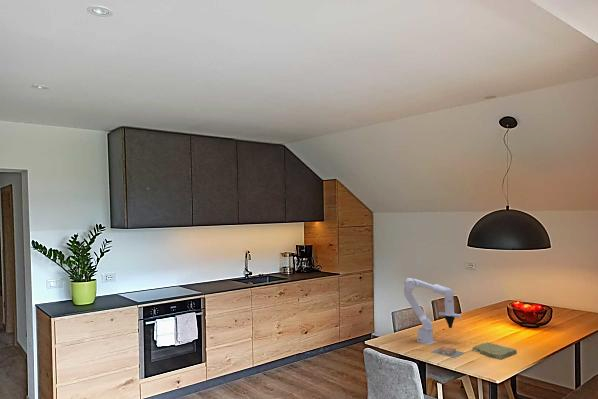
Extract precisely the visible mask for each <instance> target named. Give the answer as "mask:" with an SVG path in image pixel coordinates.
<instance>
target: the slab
mask: <svg viewBox="0 0 598 399" xmlns="http://www.w3.org/2000/svg"><path fill="white" fill-rule="evenodd" d="M437 349H438V348H437ZM456 351H457V349H456V348H453V347H449V346H444V345H443V346H441V348H440V347H439V349H438V353H441V354H445V355H449V356H451V355H453V354H455V353H456Z"/></svg>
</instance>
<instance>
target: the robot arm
mask: <svg viewBox="0 0 598 399" xmlns="http://www.w3.org/2000/svg"><path fill="white" fill-rule="evenodd" d="M419 287H422V288H425V289H428V290H431V291H432V292H433V293H434V294H438V295H440V296H444V311H439V312H438V316H443V317H444V319H445V321H446V323H447V325H448V329H451V328H453V324H454V321H455V319H456V318H459V319H461V318H462V314H460V313H457V312H456V313H455V304H454V303H455V301H454V296H455V293H454V291H453V289H451V288H450V287H447V286H443V285H440V283H435V284H431V283H429V282H426V281H423V280H420V279H417V278H412V277H407V278H405V280H404V283H403V295H404V297H405V299H406V300H407V301H408V303H409V305H410V306H411V308H412V310H413V311H414V313H415V314H416V316H417V318H419V321H420V322H421V324H422V325H421V326H422V327H419V328H418V330H417V341H416V342H417V343H420V344H425V345H433V344H434V343H436V340H435V341H434V333H433V332H434V328H433V323H432V320H431V319H430V318H429V317H428V316H427V314H425V312H424V311H423V309H422V308H421V306H420V305H419V303H418V302H417V300H416V298H415V297H414V296H413V294H412V293H413V290H414V289H415V288H419Z"/></svg>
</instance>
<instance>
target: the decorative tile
mask: <svg viewBox="0 0 598 399" xmlns="http://www.w3.org/2000/svg"><path fill="white" fill-rule="evenodd" d="M471 352H475V353H479V355H483V356H485V357H489V358H492V359H496V360H500V361H502V360H505V359H507V358H510V357H511V356H515V355H517V353H518V350H517V349H516V348H511V347H507V346H503V345H499V344H495V343H491V342H488V341H487V342H481V343H480V344H476V345H474V346H473V347H472V349H471Z"/></svg>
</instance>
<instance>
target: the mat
mask: <svg viewBox="0 0 598 399" xmlns="http://www.w3.org/2000/svg"><path fill="white" fill-rule="evenodd" d="M441 347H442V346H441ZM441 347H439V348H441ZM439 348H436V349H435V350H433V351H431V352H430V353H432V354H435V355H440V356H445V357H449V358H454V359H456V358H457V357H460V356H462V355H463V354H465V352H463V351H459V350H456V353H455V354H453V355H451V356H449V355H445V354H441V353H438V349H439Z"/></svg>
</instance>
